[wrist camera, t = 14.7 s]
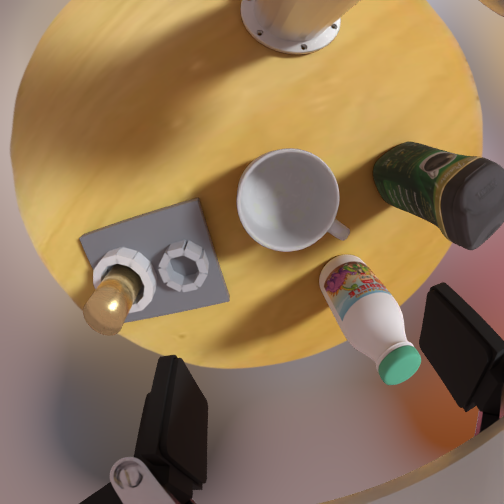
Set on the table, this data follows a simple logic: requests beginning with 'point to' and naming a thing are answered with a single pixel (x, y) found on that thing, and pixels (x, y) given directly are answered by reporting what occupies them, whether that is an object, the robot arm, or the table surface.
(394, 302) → the milk bottle
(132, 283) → the gold cylindrical peg
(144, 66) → the table surface
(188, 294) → the collar board
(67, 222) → the table surface
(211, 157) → the table surface
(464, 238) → the coffee jar
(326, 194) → the teacup
